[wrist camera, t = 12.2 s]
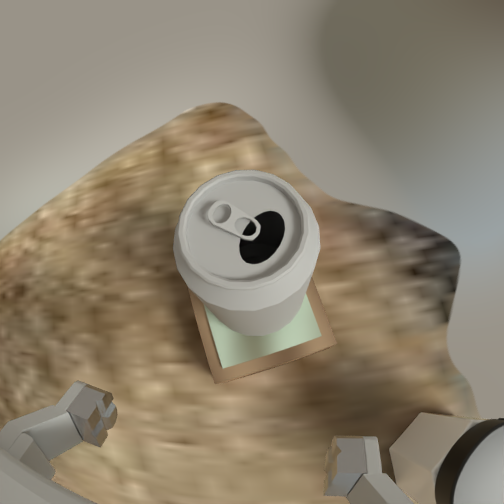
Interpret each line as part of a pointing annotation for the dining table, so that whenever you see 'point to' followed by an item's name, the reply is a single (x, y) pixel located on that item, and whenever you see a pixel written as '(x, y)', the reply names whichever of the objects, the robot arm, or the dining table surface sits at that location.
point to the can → (248, 249)
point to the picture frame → (262, 340)
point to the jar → (451, 460)
